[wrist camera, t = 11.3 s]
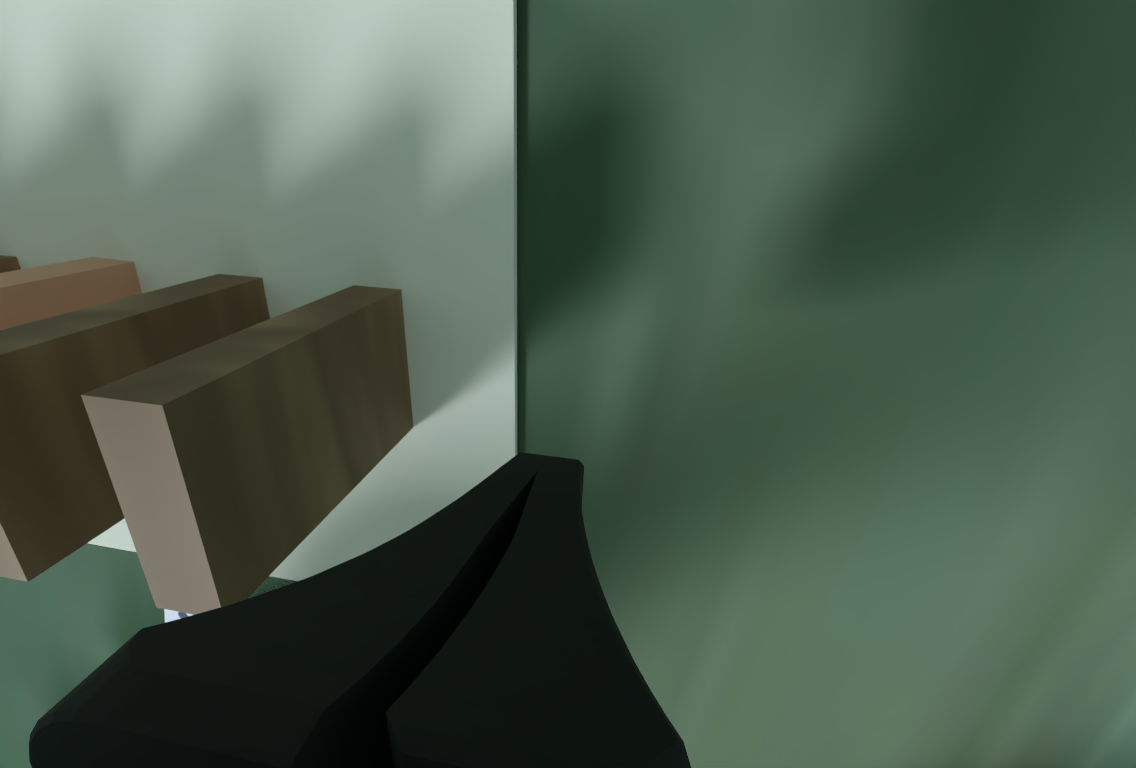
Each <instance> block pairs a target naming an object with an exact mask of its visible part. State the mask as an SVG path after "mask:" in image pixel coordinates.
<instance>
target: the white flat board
mask: <svg viewBox="0 0 1136 768" xmlns="http://www.w3.org/2000/svg"><path fill="white" fill-rule="evenodd" d="M0 255H4V256H16V257H17V259H18V262H19V265H20V267H21V269H27V268H32V267H38V266H44V265H49V264H55V263H61V262H67V261H72V260H78V259H84V258H90V257H98V258H107V259H116V260H124V261H133V262H134V264H135V268H136V272H137V275H138V279H139V283H140V287H141V291H142V293H146V292H150V291H154V290H158V289H162V288H166V287H169V286H173V285H177V284H181V283H185V282H189V281H193V280H197V279H200V278H204V277H208V276H212V275H216V274H226V275H238V276H250V277H262V279H263V284H264V290H265V295H266V300H267V305H268V311H269V316H270V319H271V318H273V317H276V316H278V315H281V314H283V313H286V312H288V311H291V310H293V309H296V308H298V307H301V306H303V305H306V304H308V303H311V302H313V301H316V300H318V299H321V298H323V297H326V296H328V295H331V294H333V293H336V292H338V291H341V290H343V289H346V288H348V287H350V286H353V285H356V286H368V287H380V288H391V289H401V292H402V303H403V315H404V326H405V337H406V349H407V360H408V371H409V383H410V394H411V406H412V417H413V428H412V429H411V430H410V431H409V432H408V433H407V434H406V435H405V436H404V437H403V438H402V440H401V441H400V442H399V443H398V444H397V445H396V446H395V447H394V448H393V449H392V450H391V451H390V452H389V453H388V454H387V455H386V456H385V457H384V458H383V459H382V460H381V461H380V462H379V463H378V464H377V465H376V466H375V467H374V468H373V469H372V470H371V471H370V472H369V473H368V474H367V476H366V477H365V478H364V479H363V480H362V481H361V482H360V483H359V484H358V485H357V486H356V487H355V488H354V489H353V490H352V491H351V492H350V493H349V494H348V495H347V496H346V497H345V498H344V499H343V500H342V501H341V502H340V503H339V504H338V505H337V506H336V507H335V508H334V509H333V510H332V512H331V513H330V514H329V515H328V516H327V517H326V518H325V519H324V520H323V521H322V522H321V523H320V524H319V525H318V526H317V527H316V528H315V529H314V530H313V531H312V532H311V533H310V534H309V535H308V536H307V537H306V538H305V539H304V540H303V541H302V542H301V543H300V544H299V545H298V547H297V548H296V549H295V550H294V551H293V552H292V553H291V554H290V555H289V556H288V557H287V558H286V559H285V560H284V561H283V562H282V563H281V564H280V565H279V566H278V567H277V568H276V569H275V570H274V571H273V572H272V573H271V574H270V575H269V576H272V577H277V578H283V579H288V580H294V581H300V580H303V579H306V578H308V577H311V576H313V575H316V574H318V573H320V572H323V571H325V570H327V569H329V568H332V567H334V566H336V565H339V564H341V563H343V562H346V561H348V560H350V559H352V558H355V557H357V556H359V555H362V554H364V553H366V552H368V551H370V550H372V549H374V548H376V547H378V546H380V545H382V544H384V543H386V542H387V541H389V540H391V539H393V538H395V537H397V536H399V535H401V534H402V533H404V532H406V531H408V530H410V529H411V528H413V527H415V526H416V525H418V524H420V523H421V522H423V521H425V520H426V519H428V518H429V517H431V516H432V515H434V514H435V513H437V512H438V511H440V510H441V509H443V508H445V507H446V506H448V505H449V504H451V503H452V502H454V501H455V500H457V499H458V498H460V497H461V496H462V495H464V494H465V493H467V492H468V491H469V490H471V489H472V488H473V487H475V486H476V485H478V484H479V483H480V482H482V481H483V480H484V479H485V478H487V477H488V476H489V475H491V474H492V473H493V472H495V471H496V470H497V469H499V468H500V467H501V466H502V465H504V464H505V463H506V462H508V461H509V460H510V459H512V458H513V457H514V456H516V455H517V0H0ZM88 543H89V544H95V545H100V546H106V547H111V548H117V549H122V550H128V551H133V552H137V551H136V549H135V546H134V543H133V540H132V537H131V535H130V532H129V529H128V526H127V523H126V521H125V518H124V519H123V520H121V521H120V522H118V523H117V524H115V525H114V526H112V527H111V528H109V529H108V530H106V531H105V532H103V533H102V534H100V535H98V536H97V537H95V538H94V539H92V540H91V541H89V542H88Z"/></svg>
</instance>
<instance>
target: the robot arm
mask: <svg viewBox="0 0 1136 768" xmlns="http://www.w3.org/2000/svg"><path fill="white" fill-rule="evenodd" d="M583 474H584V465H583V464H582V463H581V462H580V461H579V460H575V459H567V458H559V457H552V456H544V455H536V454H529V453H521V452H520V453H519V454H517V455H516V456H514V457H513V458H512V459H510V460H509V461H508V462H506V463H505V464H504V465H502V466H501V467H500V468H499V469H497V470H496V471H495V472H493V473H492V474H491V475H489V476H488V477H487V478H485V479H484V480H483V481H482V482H480V483H479V484H478V485H476V486H475V487H473V488H472V489H471V490H469V491H468V492H467V493H465V494H464V495H462V496H461V497H460V498H458V499H457V500H455V501H454V502H452V503H451V504H449V505H448V506H446V507H445V508H443V509H441V510H440V511H438V512H437V513H435V514H434V515H432V516H431V517H429V518H428V519H426V520H425V521H423V522H421V523H420V524H418V525H416V526H415V527H413V528H411V529H410V530H408V531H406V532H404V533H402V534H401V535H399V536H397V537H395V538H393V539H391V540H389V541H387V542H386V543H384V544H382V545H380V546H378V547H376V548H374V549H372V550H370V551H368V552H366V553H364V554H362V555H359V556H357V557H355V558H352V559H350V560H348V561H346V562H343V563H341V564H339V565H336V566H334V567H332V568H329V569H327V570H325V571H323V572H320V573H318V574H316V575H313V576H311V577H308V578H306V579H303V580H300V581H298V582H295V583H292V584H290V585H287V586H284V587H282V588H279V589H276V590H273V591H270V592H267V593H264V594H261V595H258V596H255V597H252V598H249V599H246V600H243V601H240V602H237V603H234V604H230V605H227V606H224V607H220V608H217V609H213V610H210V611H206V612H202V613H199V614H195V615H193V614H188V613H183V612H177V611H172V610H167V609H164V610H165V623H163V624H159V625H155V626H151V627H147V628H143V629H141V630H140V631H139V632H138V633H137V634H135V635H134V636H133V637H132V638H131V639H130V640H129V641H127V642H126V643H125V644H124V645H123V646H122V647H121V648H119V649H118V650H117V651H116V652H115V653H114V654H113V655H112V656H110V657H109V658H108V659H107V660H106V661H105V662H104V663H102V664H101V665H100V666H99V667H98V668H97V669H96V670H95V671H93V672H92V673H91V674H90V675H89V676H88V677H87V678H86V679H84V680H83V681H82V682H81V683H80V684H79V685H78V686H76V687H75V688H74V689H73V690H72V691H71V692H70V693H69V694H67V695H66V696H65V697H64V698H63V699H62V700H61V701H60V702H58V703H57V704H56V705H55V706H54V707H53V708H52V709H50V710H49V711H48V712H47V713H46V714H45V715H44V716H43V717H41V718H40V719H39V720H38V721H37V723H36V725H35V727H34V729H33V730H32V732H31V734H30V741H29V759H30V763H31V766H32V768H691V766H690V762H689V759H688V756H687V752H686V749H685V746H684V742H683V740H682V739H681V737H680V736H679V734H678V733H677V731H676V730H675V728H674V727H673V725H672V724H671V722H670V721H669V719H668V718H667V716H666V715H665V713H664V711H663V710H662V708H661V706H660V705H659V703H658V702H657V700H656V698H655V697H654V695H653V693H652V692H651V690H650V688H649V687H648V685H647V683H646V681H645V680H644V678H643V676H642V674H641V672H640V671H639V669H638V667H637V665H636V664H635V662H634V660H633V658H632V656H631V654H630V652H629V650H628V648H627V646H626V643H625V641H624V639H623V637H622V635H621V633H620V631H619V629H618V627H617V625H616V623H615V621H614V619H613V616H612V614H611V612H610V609H609V607H608V604H607V602H606V599H605V597H604V594H603V591H602V588H601V586H600V583H599V580H598V577H597V574H596V571H595V568H594V565H593V561H592V558H591V554H590V550H589V546H588V542H587V538H586V533H585V529H584V523H583V516H582V510H581V508H582V491H583Z"/></svg>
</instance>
